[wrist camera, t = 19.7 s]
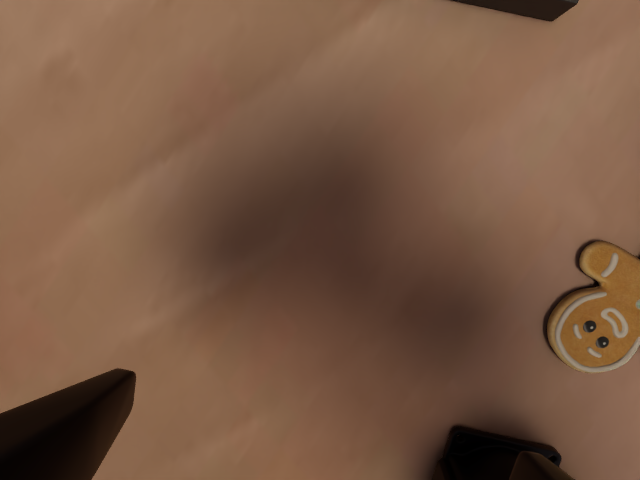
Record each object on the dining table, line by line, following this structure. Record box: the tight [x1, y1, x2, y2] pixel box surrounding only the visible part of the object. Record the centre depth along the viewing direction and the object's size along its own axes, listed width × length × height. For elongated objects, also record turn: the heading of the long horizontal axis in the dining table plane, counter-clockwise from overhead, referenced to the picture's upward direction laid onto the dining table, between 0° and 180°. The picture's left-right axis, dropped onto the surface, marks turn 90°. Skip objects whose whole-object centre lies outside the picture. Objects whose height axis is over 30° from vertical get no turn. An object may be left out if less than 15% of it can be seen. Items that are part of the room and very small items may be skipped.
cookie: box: [547, 241, 640, 373], centre depth 20 cm, size 8×1×10 cm
